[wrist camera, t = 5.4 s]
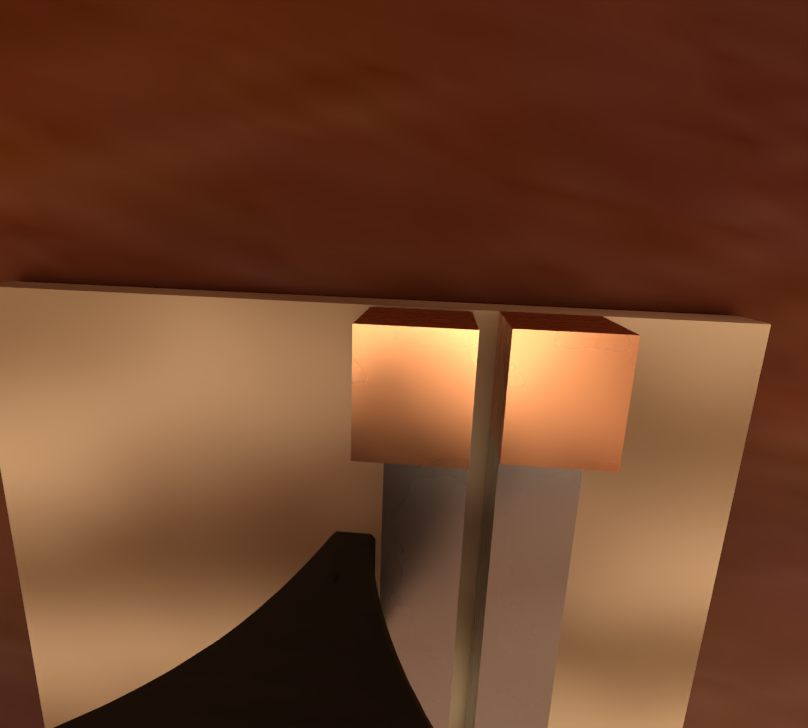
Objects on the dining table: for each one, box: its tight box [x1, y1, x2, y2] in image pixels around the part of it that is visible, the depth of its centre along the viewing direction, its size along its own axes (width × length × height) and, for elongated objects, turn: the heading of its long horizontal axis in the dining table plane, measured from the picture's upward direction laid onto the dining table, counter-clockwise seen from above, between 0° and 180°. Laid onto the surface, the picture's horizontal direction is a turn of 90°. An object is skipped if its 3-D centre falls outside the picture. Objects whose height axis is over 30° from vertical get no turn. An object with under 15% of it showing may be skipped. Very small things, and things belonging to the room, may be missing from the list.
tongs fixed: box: [464, 311, 640, 728], centre depth 12 cm, size 15×4×3 cm, turn 178°
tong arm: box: [351, 307, 479, 728], centre depth 11 cm, size 12×2×2 cm, turn 178°
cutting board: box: [0, 281, 771, 728], centre depth 14 cm, size 15×18×1 cm
